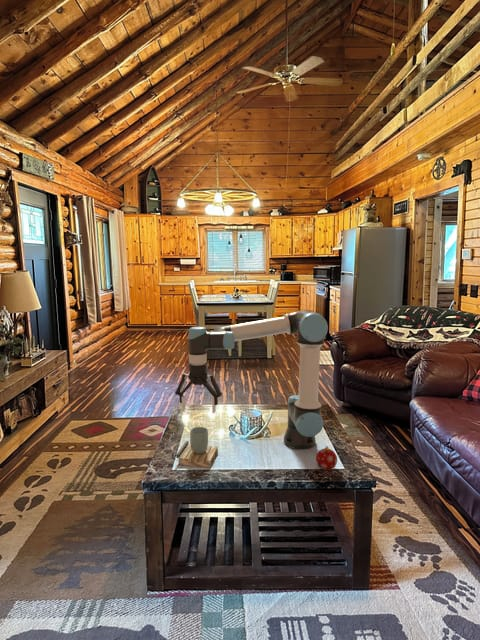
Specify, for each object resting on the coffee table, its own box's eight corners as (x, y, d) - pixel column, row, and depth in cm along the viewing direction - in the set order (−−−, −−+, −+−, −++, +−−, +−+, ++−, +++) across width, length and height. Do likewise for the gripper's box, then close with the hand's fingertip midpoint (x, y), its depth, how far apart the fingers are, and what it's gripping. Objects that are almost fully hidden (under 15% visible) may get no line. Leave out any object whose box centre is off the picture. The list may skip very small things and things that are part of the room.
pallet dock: (218, 452, 186) (217, 443, 186) (210, 467, 172) (210, 457, 172) (186, 450, 189) (186, 440, 188) (176, 464, 175) (176, 454, 175)
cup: (205, 456, 176) (205, 434, 174) (187, 455, 177) (187, 433, 176) (210, 449, 183) (210, 427, 182) (193, 447, 185) (193, 426, 183)
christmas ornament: (322, 462, 178) (322, 440, 177) (340, 468, 172) (341, 445, 171) (312, 469, 171) (312, 446, 170) (330, 476, 166) (331, 452, 165)
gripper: (228, 362, 176) (228, 409, 179) (172, 360, 181) (174, 406, 184) (224, 366, 169) (225, 415, 172) (167, 364, 174) (168, 412, 176)
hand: (198, 411), depth 178 cm, fingers open, 13 cm apart
